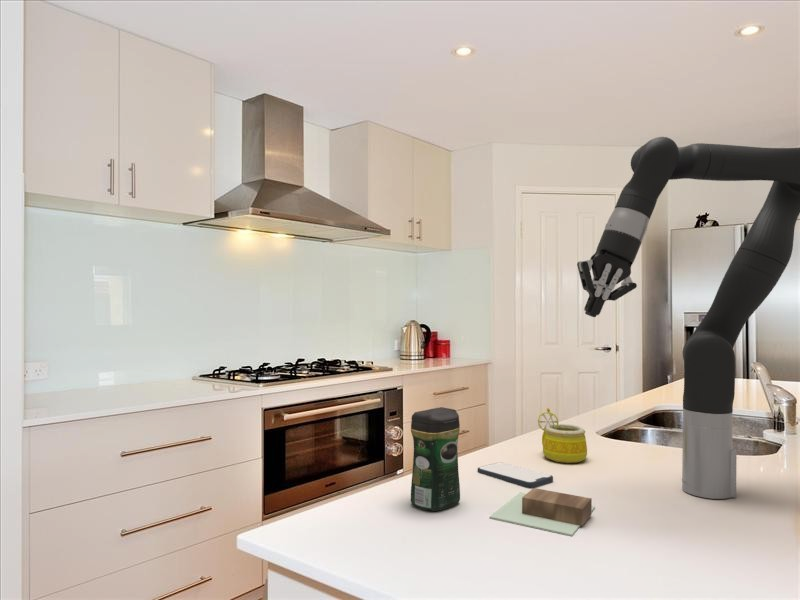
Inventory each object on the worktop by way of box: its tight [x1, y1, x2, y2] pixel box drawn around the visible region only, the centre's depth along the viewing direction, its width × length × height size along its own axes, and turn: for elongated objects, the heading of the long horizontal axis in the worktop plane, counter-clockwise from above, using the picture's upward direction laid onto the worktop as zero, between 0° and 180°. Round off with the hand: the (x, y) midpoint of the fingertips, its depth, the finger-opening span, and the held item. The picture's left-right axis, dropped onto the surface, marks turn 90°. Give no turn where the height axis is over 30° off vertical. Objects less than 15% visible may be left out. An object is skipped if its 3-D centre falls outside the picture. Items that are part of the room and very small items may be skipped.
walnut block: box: [522, 487, 593, 527], centre depth 108 cm, size 3×6×11 cm
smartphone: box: [477, 462, 554, 489], centre depth 132 cm, size 9×2×16 cm
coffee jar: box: [410, 406, 461, 512], centre depth 114 cm, size 10×8×19 cm
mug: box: [537, 407, 588, 464], centre depth 148 cm, size 13×11×12 cm
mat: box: [489, 492, 596, 537], centre depth 109 cm, size 15×16×1 cm
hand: (590, 315), depth 116 cm, fingers closed
